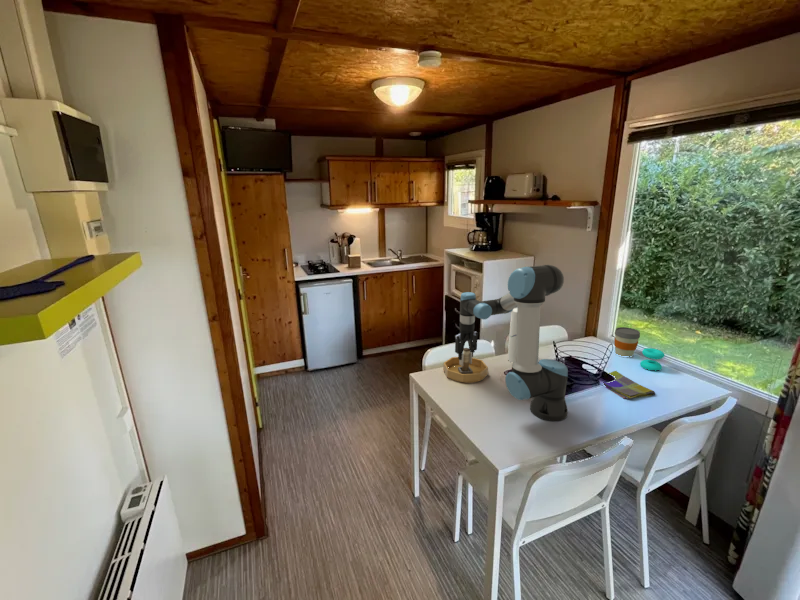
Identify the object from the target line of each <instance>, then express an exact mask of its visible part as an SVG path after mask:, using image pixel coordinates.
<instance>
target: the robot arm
mask: <svg viewBox="0 0 800 600" xmlns="http://www.w3.org/2000/svg"><path fill="white" fill-rule="evenodd" d="M564 282H565V277H564V273H563V272H562V270H561V269H560V268H559V267H557V266H555V265H552V264H543V265H533V266H532V265H531V266H524V267H520V268H519V267H517V268H516V269H515V270H513V272H511V273H510V275H509V277H508V281H507V289H508V293H507V294H504V295H503V296H501V297H499V298H496V299H487V300H479V299H478V300H477V296H476V293H474V292H473V291H472V292H470V291H466V292H461V294H460V300H459V303H460V304H459V333H458V334H455V335H454V340H455V343H454V344H455V347H454V352H455V353H456V354H458V356H457V357H458V359H459V364H460V365H461V366H463V361H464V354H463V349H464V348H465V344H466V343H468V348H469V349H470V356H469V363H470V364H472V358H474V353H475V351H477V349H478V336H479V332H477V331H475V321H476V318H478V319H481V320H488V319H489V318H490V317H491V316H495V315H497V316H498V315H503V314H504V315H506V314H509V313H511V312H512V311H513V309H514V308H518V310H517V343H516V361H515V362H514V363H511V371H509V372H507V373H506V375H505V385H506V388H507V390H508V392H509V394H510V395H511V396H512V397H514V398H515V399H516V400H518V401H523V400H529V399H531V401H530V407H529V410H530V412H531V413H532V414H533V415H534V416H535V417H537V418H539V419H542V420H545V421H551V422H559V421H560V422H561V421H563V420H565V419H566V418H567V417H568V413H569V411H568V405H567V402H566V390H567V383H568V377H569V375H568V373H569V372H568V371H569V370H568V366H567V365H566V364H564V363H562V362H560V361H558V360H554V359H549V358H543V359H539V354H540V353H539V351H540V350H539V349H540V330H541V329H540V327H541V307H542V305H544V304H545V302H546V297H548V296H550V295H552V294H554V293H555V294H556V293H558V291H560V290H561V289H562V287H563V286H564Z"/></svg>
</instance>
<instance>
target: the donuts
mask: <svg viewBox="0 0 800 600" xmlns="http://www.w3.org/2000/svg"><path fill="white" fill-rule="evenodd" d="M641 353H642V355H643V356H644V357H645V358H647V359H643V360H641V361H640V362H639V366H640V367H641V368H642V367H643V368H642V369H644V368H645V370H646V369H648V370H647V371H650V370H655V371H654V372H657V371H656V370H660V371H661V370H662V369H663V365H662V364H661V363H660V362H659V361H656V360H662V359H664V357H665V353H664V352H663V351H662V350H660V349H657V348H652V347H651V348H650V347H646V348H644V349H642V351H641Z"/></svg>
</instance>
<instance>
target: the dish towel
mask: <svg viewBox="0 0 800 600" xmlns="http://www.w3.org/2000/svg"><path fill="white" fill-rule="evenodd" d="M608 373H609V374H611V375H613V376H615V378H616V379H615V381H613V382H610V383H606V382H603V383H604V385H605V386H606V387H605V388H606V389H607V390H609V391H610V392H612V393H614V394H615V395H617V396H619V397H620V398H623V399H624V400H630V399H637V398H645V397H652V395H653V396H655V395H656V392H655V390H652V389H650V388H648V387H645V386H643V385H641V384H639V383H637V382H635V381H633V380H632V379H630V378H629V377H627V376H625V375H623V374H622V373H620V372H619V371H618V370H613V371H611V372H608Z"/></svg>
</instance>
